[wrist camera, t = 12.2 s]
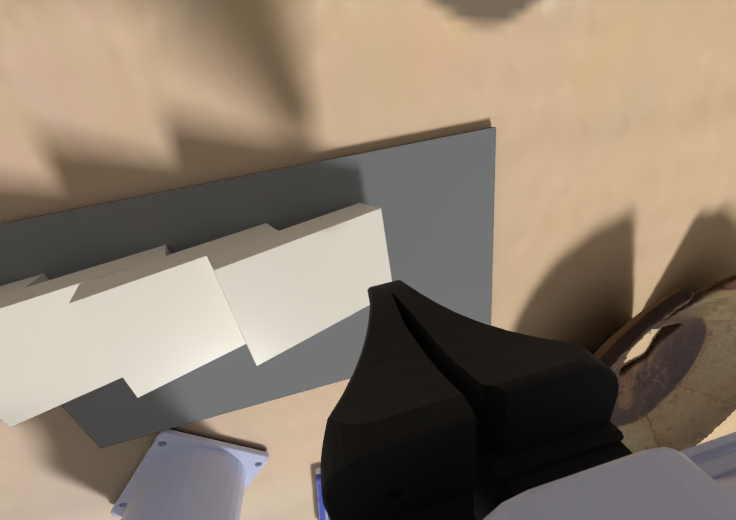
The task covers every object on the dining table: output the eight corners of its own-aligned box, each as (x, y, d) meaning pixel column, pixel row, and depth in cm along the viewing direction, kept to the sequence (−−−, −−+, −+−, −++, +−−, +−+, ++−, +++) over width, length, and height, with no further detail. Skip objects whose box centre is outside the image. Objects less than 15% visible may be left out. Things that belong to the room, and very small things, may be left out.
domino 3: (373, 280, 19) (246, 343, 15) (359, 202, 17) (206, 255, 13) (393, 292, 17) (256, 366, 14) (381, 208, 15) (214, 270, 11)
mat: (103, 442, 20) (100, 448, 20) (-77, 239, 14) (-88, 242, 13) (487, 335, 23) (490, 339, 23) (491, 127, 17) (495, 127, 16)
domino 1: (205, 321, 18) (27, 396, 14) (165, 244, 15) (-55, 311, 12) (208, 339, 16) (9, 427, 13) (165, 255, 14) (-89, 336, 11)
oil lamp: (540, 263, 22) (650, 328, 15) (831, 238, 27) (1010, 277, 20) (486, 460, 31) (539, 556, 24) (711, 412, 36) (806, 479, 29)
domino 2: (291, 300, 18) (139, 371, 15) (266, 223, 16) (79, 284, 12) (304, 314, 17) (137, 398, 13) (278, 230, 14) (68, 303, 11)
